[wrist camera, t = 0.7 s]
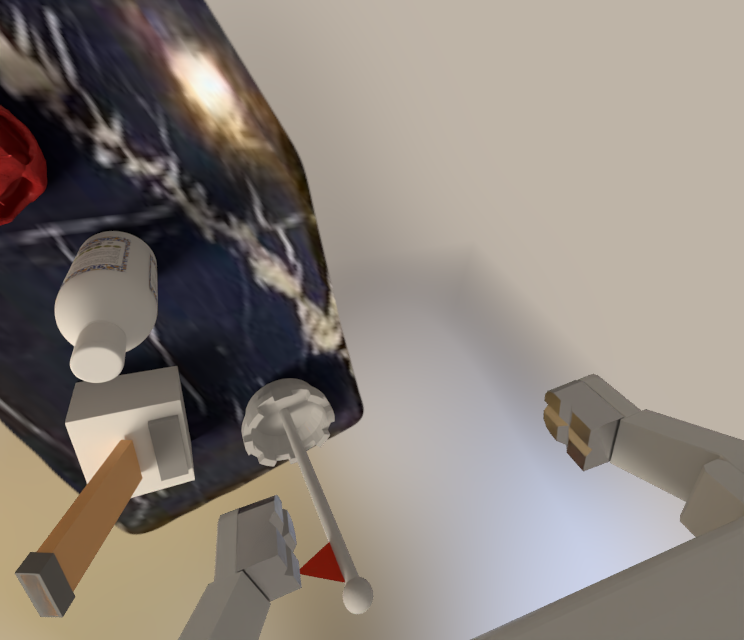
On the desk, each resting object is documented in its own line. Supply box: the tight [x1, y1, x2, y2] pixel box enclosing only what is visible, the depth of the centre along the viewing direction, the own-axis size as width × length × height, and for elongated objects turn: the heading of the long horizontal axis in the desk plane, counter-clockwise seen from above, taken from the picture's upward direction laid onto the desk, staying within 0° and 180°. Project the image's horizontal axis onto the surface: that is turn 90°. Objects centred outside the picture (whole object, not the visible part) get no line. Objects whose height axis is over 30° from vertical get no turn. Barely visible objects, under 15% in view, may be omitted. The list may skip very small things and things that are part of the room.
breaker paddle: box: [15, 440, 142, 617], centre depth 37 cm, size 2×6×14 cm, turn 174°
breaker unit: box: [65, 366, 195, 498], centre depth 47 cm, size 10×13×8 cm
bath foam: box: [55, 231, 158, 383], centre depth 33 cm, size 7×7×20 cm
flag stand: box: [242, 378, 373, 614], centre depth 48 cm, size 13×13×30 cm
